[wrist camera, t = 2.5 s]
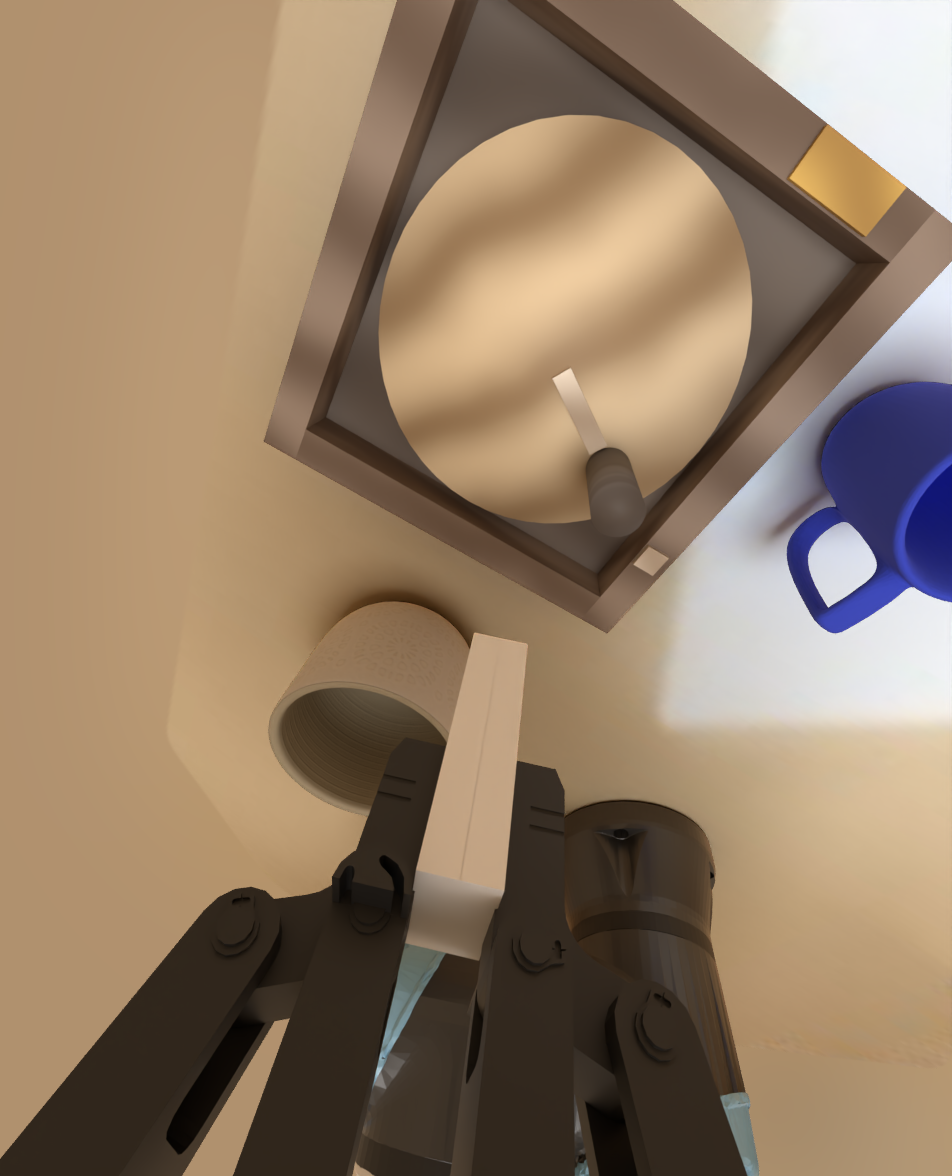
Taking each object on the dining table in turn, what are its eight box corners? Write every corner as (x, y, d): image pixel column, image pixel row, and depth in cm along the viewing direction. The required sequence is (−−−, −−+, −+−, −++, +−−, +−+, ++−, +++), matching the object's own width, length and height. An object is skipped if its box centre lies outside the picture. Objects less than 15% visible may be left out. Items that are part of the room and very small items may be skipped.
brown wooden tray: (603, 603, 36) (607, 636, 33) (290, 426, 32) (261, 442, 29) (920, 243, 23) (977, 238, 20) (467, -111, 20) (448, -184, 17)
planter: (303, 624, 41) (228, 726, 32) (419, 553, 36) (370, 649, 27) (400, 723, 45) (359, 837, 36) (516, 672, 40) (502, 789, 31)
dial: (326, 284, 27) (243, 288, 20) (656, 15, 20) (705, -122, 13) (494, 551, 34) (476, 624, 27) (781, 417, 27) (857, 467, 20)
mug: (714, 509, 31) (770, 596, 23) (906, 328, 25) (1079, 356, 17) (807, 581, 33) (891, 687, 24) (1009, 427, 27) (1214, 498, 18)
